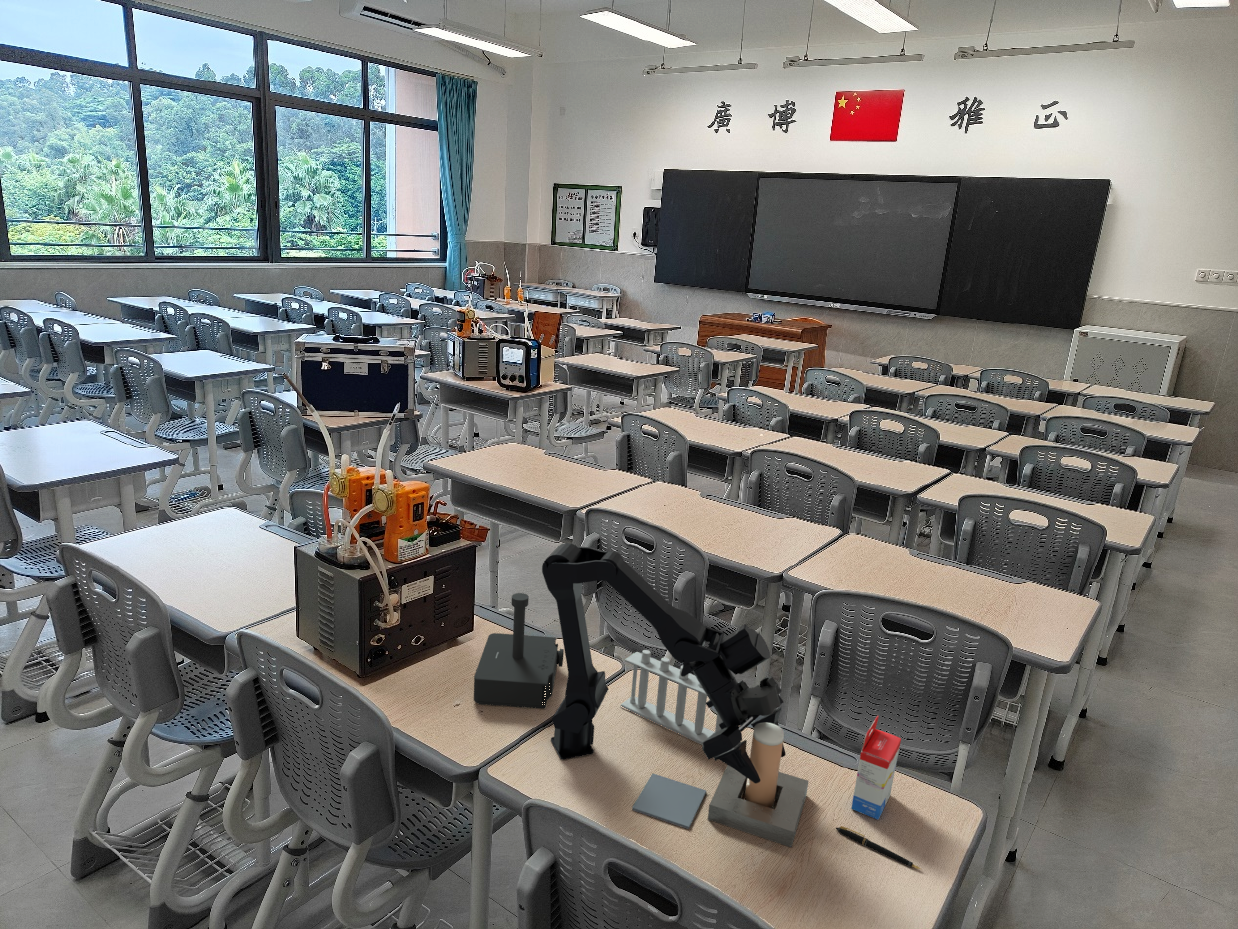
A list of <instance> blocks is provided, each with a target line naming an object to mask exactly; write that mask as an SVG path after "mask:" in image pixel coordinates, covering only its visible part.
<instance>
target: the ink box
mask: <svg viewBox="0 0 1238 929" xmlns="http://www.w3.org/2000/svg"><path fill="white" fill-rule="evenodd" d="M879 718H880V717H879V715H877V716H876V717H875V719H874V721H873V722H872V724H871V725H870V727H869V729H868V730H867V732H866V733H865V735H864V739H863V742H862V746H861V751H860V756H859V761H858V762H859V763H858V767H857V774H856V780H855V786H854V789H853V790H854V791H853V797H852V803H851V808H850V809H851V810H853V811H855V812H858V813H861V814H863V815H865V816H868V817H870V818H873V819H875V820H877V821H879V820H880V817H881V815H882V813H883V811H884V809H885V807H886V805H887V802H888V801H889V798H890V797H891V794H892V787H893V783H894V778H895V772H896V767H897V762H898V758H899V752H900V746H901V743H902V742H901V741H902V738H901V737H899V736H896V735H894V734H891V733H888V732H886V731H883V730H880V729H877V726H878V723H879V722H878V721H879Z"/></svg>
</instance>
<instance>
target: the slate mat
mask: <svg viewBox="0 0 1238 929" xmlns="http://www.w3.org/2000/svg"><path fill="white" fill-rule="evenodd" d="M706 794H707V790H706V789H703V788H699V787H696V786H693V785H691V784H688V783H684V782H681V781H678V780H674V779H671V778H668V777H666V776H663V775H659V774H656V773H652V774H651V775H650V776H649V778H648V780H647V782H646V784H645V785H644V787H643V789H642V790H641V792H640V793H639V795H638V797H637V799H635V800H636V801H635V802H634V803H633V806H632V808H631V811H634V812H637V813H640V814H642V815H646V816H648V817H650V818H651V817H652V818H654V819H658V820H660V821H662V822H666V823H669V824H671V825H675V826H678V827H681V828H684V829H687V830H690V829H691V828H690V827H691V826H692V823H693V821H694V819H695V817H696V815H697V813H698V811H699V808H700V807H701V804H702V802H703V801H704V798H705V796H706Z"/></svg>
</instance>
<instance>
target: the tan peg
mask: <svg viewBox="0 0 1238 929" xmlns="http://www.w3.org/2000/svg"><path fill="white" fill-rule="evenodd" d="M784 739H785V732H784V729H783V728H781V726H777V725H775V724H772V723H767V722H763V723H759V724H757V725H755V727H754V728H753V733H752V740H751V748H750V755H749V758H750V760H751V762H752V763H753V765H754V767H755V769H756V771H757V773H758V775H759V778H760V780H761V781H760V782H759V783H756V784H755V783H754V782H752V781H751V780H749V779H748V778H747V784H746V790H744V792H745V793H744V798H743V800H746V801H749V802H753V803H756V804H759V805H762V806H765V807H768V808H771V809H775V807H774V806H775V801H776V800H775V794H776V787H777V780H778V774H779V772H780V766H781V759H782V757H781V753H782V746H783V745H784Z"/></svg>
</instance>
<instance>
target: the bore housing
mask: <svg viewBox="0 0 1238 929" xmlns="http://www.w3.org/2000/svg"><path fill="white" fill-rule="evenodd" d="M726 765H727V764H726ZM746 784H747V777H745V776H744V775H742V774H741V773H740V772H738V771H737V770H735V769H734V768H732V767H730V766H729V765H727V766H726V768H725V770H724V772H723V774H722V776H721V778H720V780H719V782H718V785H717V787H716V790H715V791H714V794H713V796H712V797H711V800H710V802H709V806H708V807H709V808H708V814H707V821H712V822H714V823H717V824H720V825H722V826H725V827H729V828H732V829H735V830H738V831H741V832H744V833H747V834H750V835H753V836H756V837H759V838H762V839H766V840H768V841H771V842H774V843H776V844H780V845H782V846H786V847H789V848H792V847H793V843H794V839H795V836H796V833H797V830H798V827H799V824H800V823H799V822H800V820H801V815H802V811H803V808H804V806H805V801H806V799H807V798H806V797H807V794H808V793H807V792H808V787H809V780H808V779H804V778H800V777H798V776H795V775H791V774H788V773H785V772H781V771H779V774H778V780H777V787H776V794H775V801H777V803H776V807H775V808H773V809H771V808H768V807H765V806H762V805H759V804H756V803H753V802H749V801H746V800H744V798H743V795H744V794H745V793H744V792H745V791H746Z"/></svg>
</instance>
